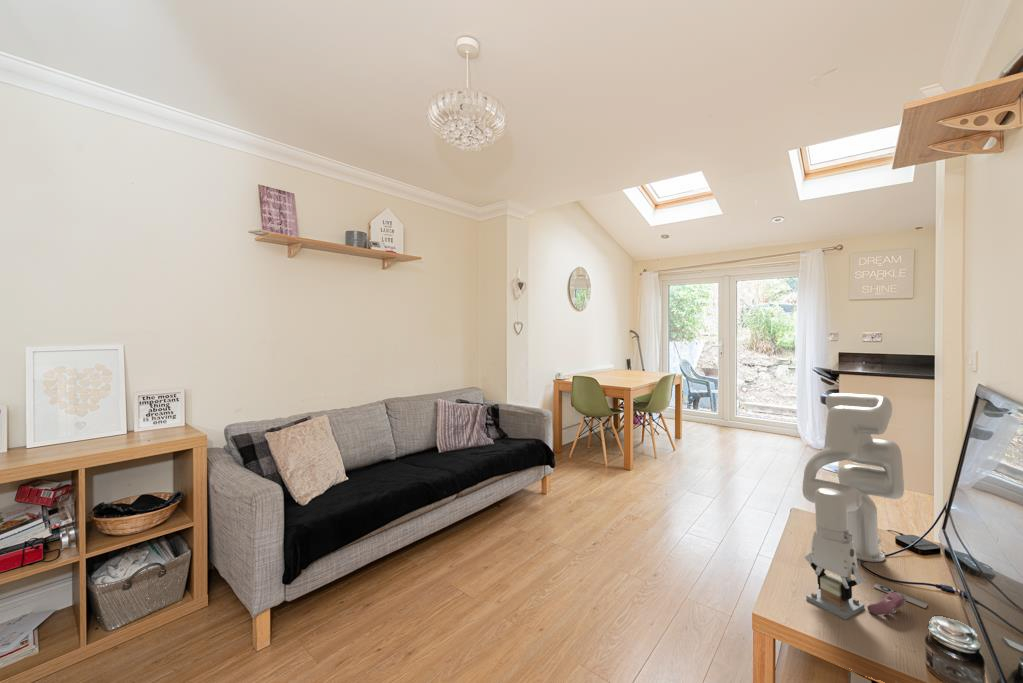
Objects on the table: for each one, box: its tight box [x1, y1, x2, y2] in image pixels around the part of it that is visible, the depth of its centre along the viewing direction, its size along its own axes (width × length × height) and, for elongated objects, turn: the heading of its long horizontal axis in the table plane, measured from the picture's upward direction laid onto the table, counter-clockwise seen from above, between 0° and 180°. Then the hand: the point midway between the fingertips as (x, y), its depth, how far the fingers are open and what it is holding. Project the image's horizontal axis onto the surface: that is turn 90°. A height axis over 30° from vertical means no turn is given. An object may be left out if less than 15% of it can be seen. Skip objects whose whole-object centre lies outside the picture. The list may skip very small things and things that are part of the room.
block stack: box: [820, 572, 849, 607], centre depth 118 cm, size 5×5×6 cm
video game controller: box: [867, 591, 908, 617], centre depth 114 cm, size 10×5×7 cm, turn 114°
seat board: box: [805, 588, 866, 620], centre depth 118 cm, size 10×10×2 cm
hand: (834, 593), depth 118 cm, fingers open, 5 cm apart
